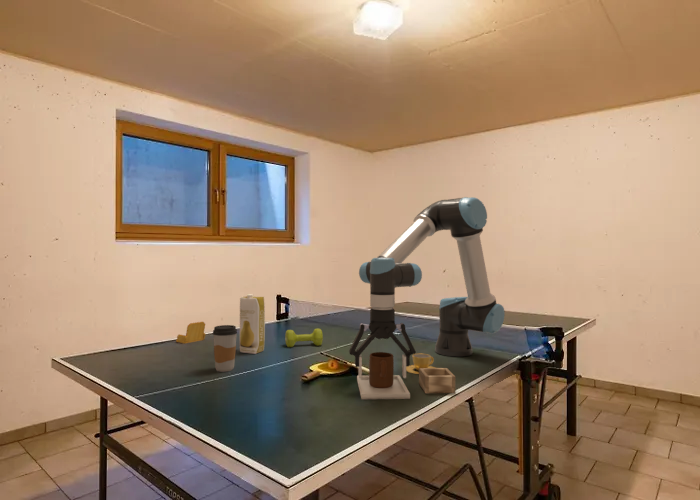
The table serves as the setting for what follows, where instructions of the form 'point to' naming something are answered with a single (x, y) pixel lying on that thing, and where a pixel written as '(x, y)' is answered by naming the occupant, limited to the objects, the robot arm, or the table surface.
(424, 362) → the cup
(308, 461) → the table surface
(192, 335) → the yellow stepped piece
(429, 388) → the oak box
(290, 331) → the dumbbell
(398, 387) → the tray
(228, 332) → the coffee cup
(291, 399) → the table surface
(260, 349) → the juice carton
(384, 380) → the mug
